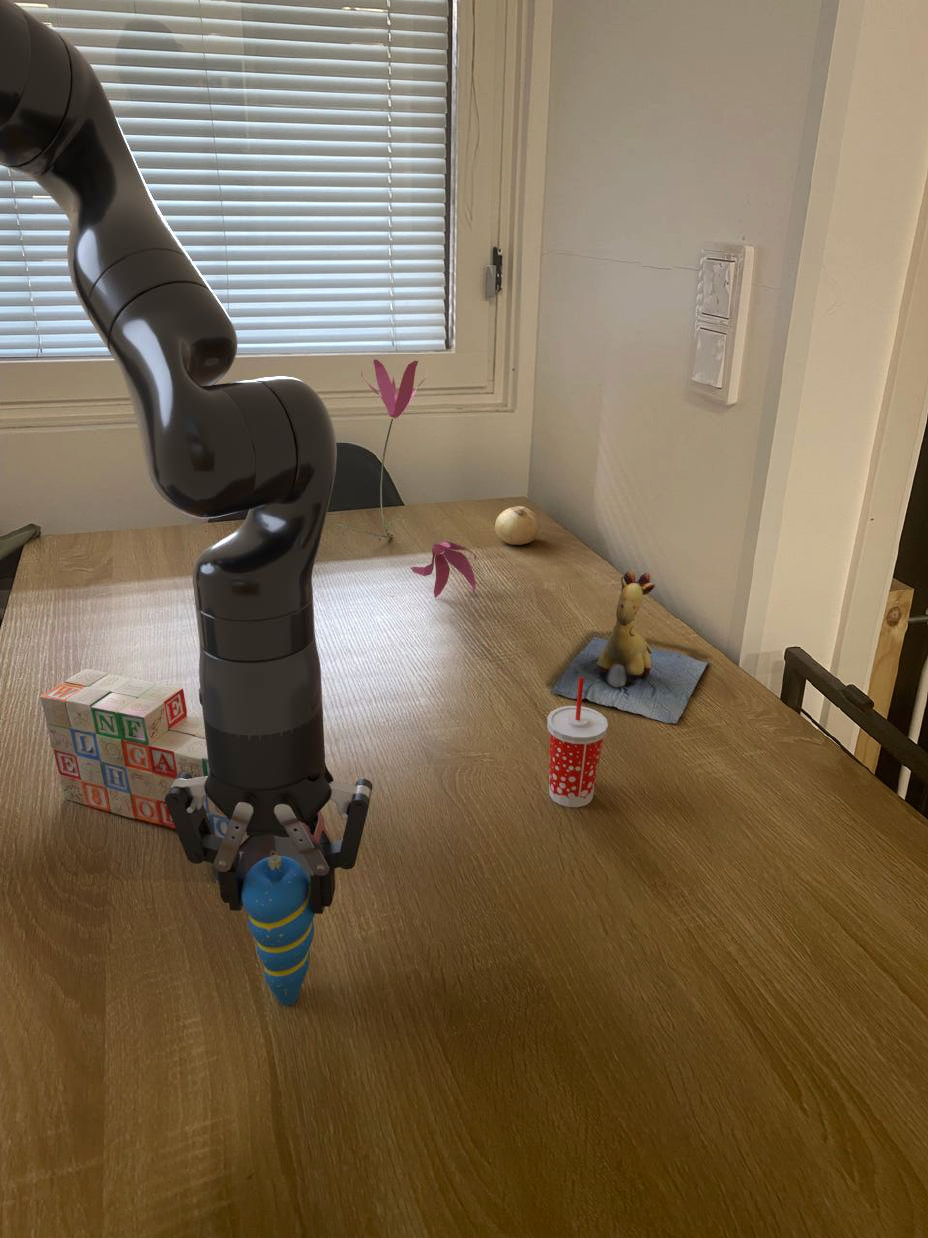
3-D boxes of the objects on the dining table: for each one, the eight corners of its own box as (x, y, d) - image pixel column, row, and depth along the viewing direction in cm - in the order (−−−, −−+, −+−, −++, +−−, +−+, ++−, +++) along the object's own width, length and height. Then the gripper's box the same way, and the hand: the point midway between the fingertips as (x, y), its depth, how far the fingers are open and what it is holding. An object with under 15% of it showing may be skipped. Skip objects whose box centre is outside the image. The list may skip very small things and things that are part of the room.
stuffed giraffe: (550, 692, 114) (565, 575, 108) (594, 640, 130) (610, 534, 123) (675, 728, 109) (699, 606, 102) (706, 669, 124) (729, 560, 117)
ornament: (288, 1048, 66) (276, 888, 60) (238, 1015, 69) (221, 859, 63) (335, 1001, 70) (328, 847, 64) (285, 972, 73) (274, 820, 67)
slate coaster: (199, 902, 80) (198, 896, 80) (229, 829, 89) (228, 824, 89) (312, 906, 80) (312, 901, 79) (331, 833, 89) (331, 828, 88)
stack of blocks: (276, 811, 91) (264, 703, 86) (240, 849, 85) (225, 736, 80) (104, 767, 98) (84, 665, 93) (61, 799, 92) (38, 693, 87)
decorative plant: (344, 706, 155) (275, 646, 127) (270, 516, 172) (195, 427, 145) (542, 609, 154) (515, 528, 126) (448, 428, 171) (406, 322, 144)
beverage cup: (590, 775, 99) (601, 661, 93) (607, 809, 93) (621, 690, 87) (535, 779, 98) (543, 664, 92) (550, 814, 92) (559, 694, 86)
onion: (485, 540, 165) (486, 502, 162) (515, 531, 170) (517, 494, 166) (516, 552, 159) (518, 514, 156) (547, 542, 164) (550, 505, 161)
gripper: (381, 675, 61) (384, 873, 69) (170, 667, 62) (195, 865, 69) (367, 735, 55) (372, 947, 62) (130, 726, 55) (162, 939, 62)
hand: (279, 903), depth 65 cm, fingers closed on ornament, 5 cm apart
